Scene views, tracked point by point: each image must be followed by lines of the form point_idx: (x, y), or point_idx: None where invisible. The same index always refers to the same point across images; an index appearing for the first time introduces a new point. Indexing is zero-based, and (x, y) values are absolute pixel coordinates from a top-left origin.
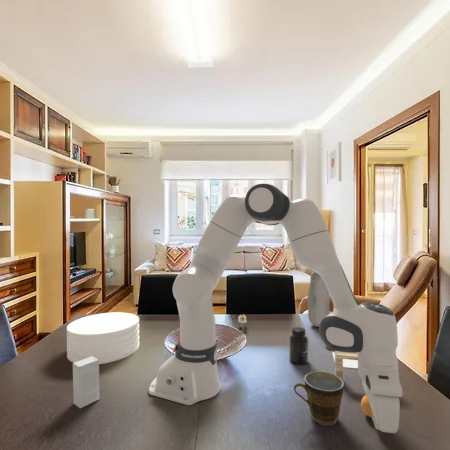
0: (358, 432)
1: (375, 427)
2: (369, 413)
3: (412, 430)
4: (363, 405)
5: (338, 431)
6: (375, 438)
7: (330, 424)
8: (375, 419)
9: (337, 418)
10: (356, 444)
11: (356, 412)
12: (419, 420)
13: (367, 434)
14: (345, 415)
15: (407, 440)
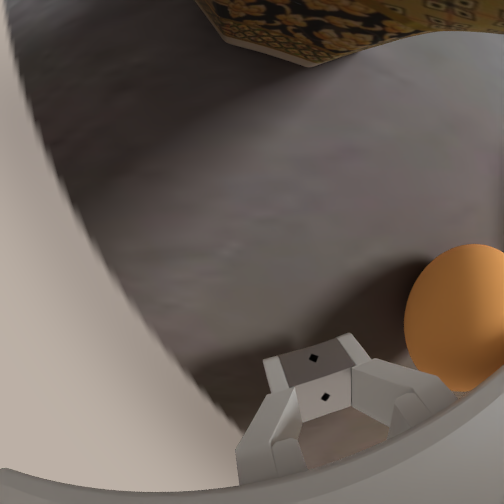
0: (231, 226)
1: (264, 362)
2: (415, 304)
3: (358, 432)
4: (465, 274)
5: (169, 86)
6: (222, 331)
7: (211, 23)
8: (74, 495)
9: (295, 58)
10: (91, 228)
11: (440, 200)
12: None
13: (239, 285)
14: (391, 126)
15: None
